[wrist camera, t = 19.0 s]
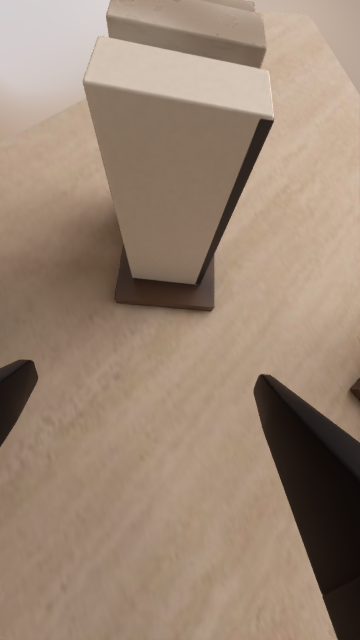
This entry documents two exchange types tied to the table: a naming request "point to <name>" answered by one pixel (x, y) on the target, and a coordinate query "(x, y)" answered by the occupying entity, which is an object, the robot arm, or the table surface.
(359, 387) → the grey book shelf
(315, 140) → the table surface
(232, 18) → the white book shelf
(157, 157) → the white book
